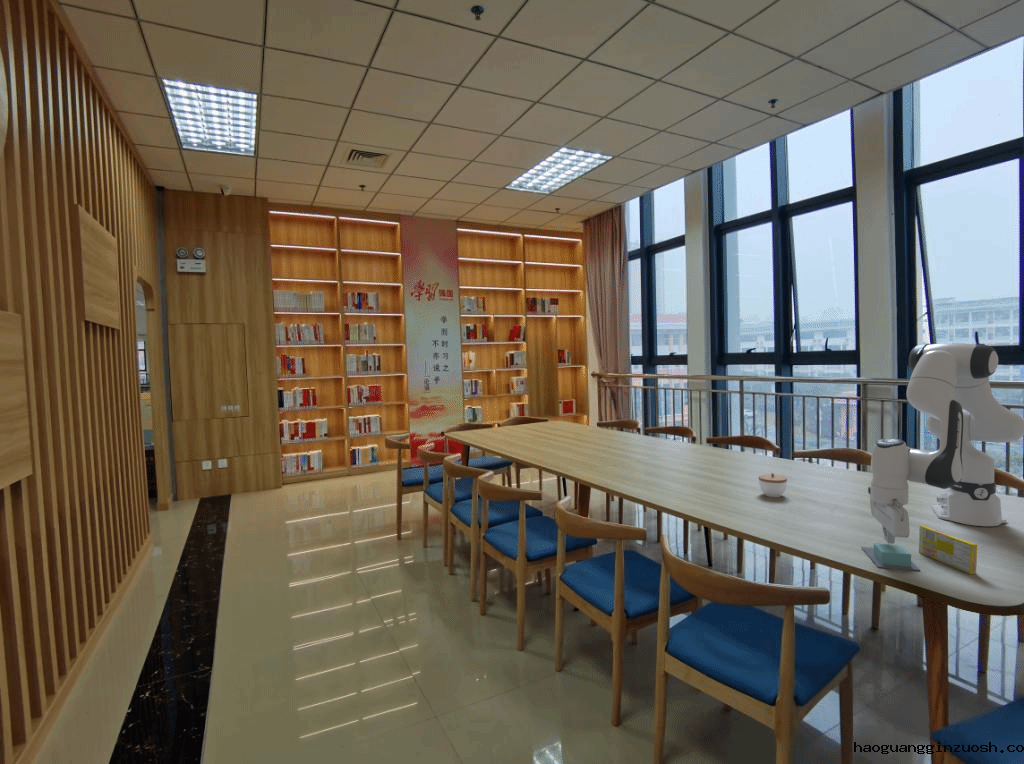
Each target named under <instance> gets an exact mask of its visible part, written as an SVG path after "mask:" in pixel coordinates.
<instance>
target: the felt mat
mask: <svg viewBox="0 0 1024 764" xmlns="http://www.w3.org/2000/svg"><path fill="white" fill-rule="evenodd" d="M861 550H863V552H864V553H865V554H866V556H868V557H869V559H870V560H871V561H872V563H873V562H874V563H873V564H874V565H875V567H876V568H878V569H888V570H889V569H890V570H902V571H913V572H914V571H915V572H921V569H920V568H919V567H918V566H917V565H916V564H915V563H914V562H913V561H912V560H911V567H908V566H897V565H885V564H881V563H880V562H879V560H878V559H877V558H876V557H875V556H874V547H871V546H870V547H868V546H861Z"/></svg>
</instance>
